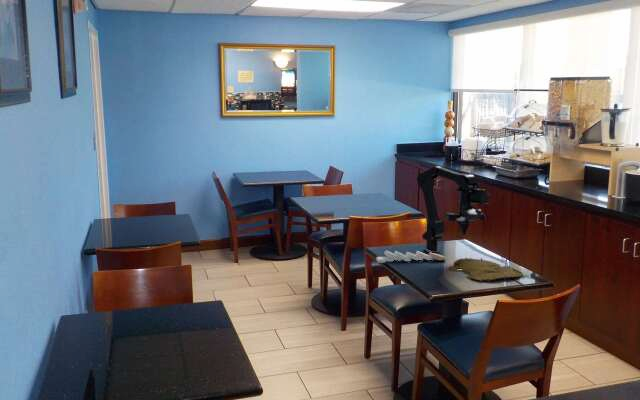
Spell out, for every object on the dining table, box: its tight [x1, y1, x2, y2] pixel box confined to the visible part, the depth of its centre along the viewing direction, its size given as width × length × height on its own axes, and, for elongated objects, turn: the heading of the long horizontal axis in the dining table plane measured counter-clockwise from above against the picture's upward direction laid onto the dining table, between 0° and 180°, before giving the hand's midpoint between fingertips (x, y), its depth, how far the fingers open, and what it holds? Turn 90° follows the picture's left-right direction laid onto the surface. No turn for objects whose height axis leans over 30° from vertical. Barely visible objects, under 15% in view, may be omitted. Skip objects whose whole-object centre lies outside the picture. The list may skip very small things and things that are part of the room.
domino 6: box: [428, 252, 447, 261], centre depth 270 cm, size 4×2×7 cm
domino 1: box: [376, 256, 395, 264], centre depth 266 cm, size 4×2×7 cm
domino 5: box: [414, 250, 434, 261], centre depth 270 cm, size 4×2×7 cm
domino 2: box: [383, 249, 402, 262], centre depth 267 cm, size 4×2×7 cm
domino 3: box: [393, 250, 412, 262], centre depth 267 cm, size 4×2×7 cm
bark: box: [448, 257, 524, 282], centre depth 253 cm, size 28×4×30 cm
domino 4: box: [404, 251, 424, 261], centre depth 269 cm, size 4×2×7 cm
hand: (463, 234), depth 272 cm, fingers closed
